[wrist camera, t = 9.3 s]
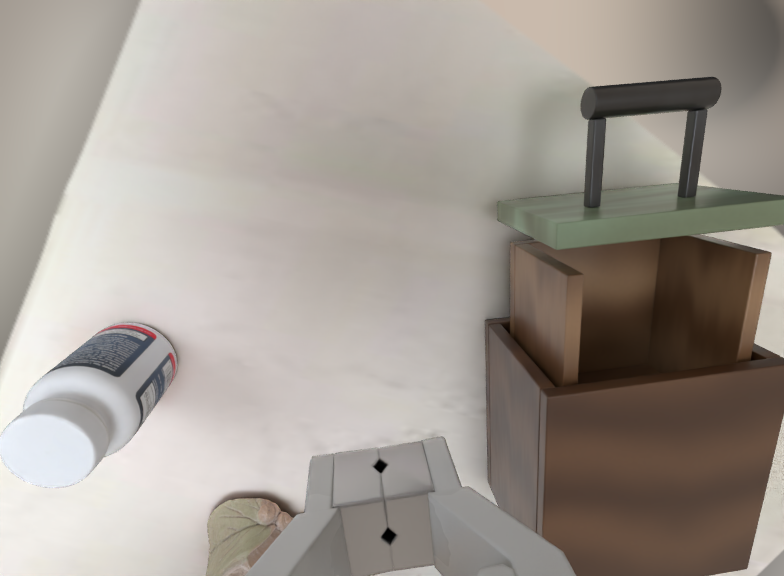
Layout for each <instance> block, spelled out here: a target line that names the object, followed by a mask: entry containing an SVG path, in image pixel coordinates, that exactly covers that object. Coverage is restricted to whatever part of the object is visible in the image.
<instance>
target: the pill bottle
mask: <svg viewBox="0 0 784 576" xmlns="http://www.w3.org/2000/svg"><path fill="white" fill-rule="evenodd" d="M176 371H177V358H176V354H175V351H174V349H173V347H172V346H171V344H170V343H169V342H168V340H167V339H166V338H165V337H164V336H163V335H161V334H160V333H159V332H157V331H156V330H154V329H152V328H150V327H148V326H145V325H142V324H138V323H118V324H114V325H111V326H108V327H106V328H104V329H103V330H101V331H100V332H98V333H97V334H96V335H94V336H93V337H92V338H91V339H90V340H88V341H87V342H86V343H84V344H83V345H82V346H81V347H79V348H78V349H77V350H76V351H74V352H73V353H72V354H71V355H69V356H68V357H67V358H66V359H64V360H63V361H62V362H61V363H59V364H58V365H57V366H56V367H54V368H53V369H52V370H50V371H49V372H48V373H47V374H45V375H44V376H43V377H42V378H41V379H39V380H38V381H37V382H36V383H35V384H34V385H33V387H32V388H31V389H30V391H29V392H28V394H27V396H26V399H25V401H24V406H23V412H22V413H21V414H20V415H19V416H17V417H16V418H15V419H14V420H13V421H12V422H11V423H10V424H9V425H8V426H7V427H6V428H5V429H4V431H3V432H2V434H1V436H0V456H1V459H2V461H3V463H4V464H5V466H6V467H7V468H8V469H9V470H10V471H11V472H12V473H13V474H14V475H16V476H17V477H18V478H20V479H22V480H23V481H26V482H28V483H30V484H33V485H36V486H40V487H45V488H62V487H67V486H71V485H74V484H76V483H78V482H80V481H82V480H83V479H85V478H86V477H87V476H88V475H89V474H90V473H91V472H92V471H93V469H94V468H95V467H96V466H97V465H98V463H99V462H100V461H101V460H102V459H103V457H106V456H109V455H111V454H113V453H115V452H117V451H118V450H120V449H121V448H123V447H124V446H125V445H126V444H127V443H128V442H129V441H130V440H131V439H132V437H133V436H134V435H135V434H136V432H137V431H138V429H139V428H140V427H141V425H142V424H143V422H144V421H145V420H146V418H147V417H148V415H149V414H150V413H151V411H152V410H153V408H154V407H155V405H156V404H157V403H158V401H159V400H160V398H161V397H162V395H163V394H164V393H165V391H166V390H167V388H168V387H169V386H170V384H171V382H172V381H173V379H174V377H175V374H176Z"/></svg>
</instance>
